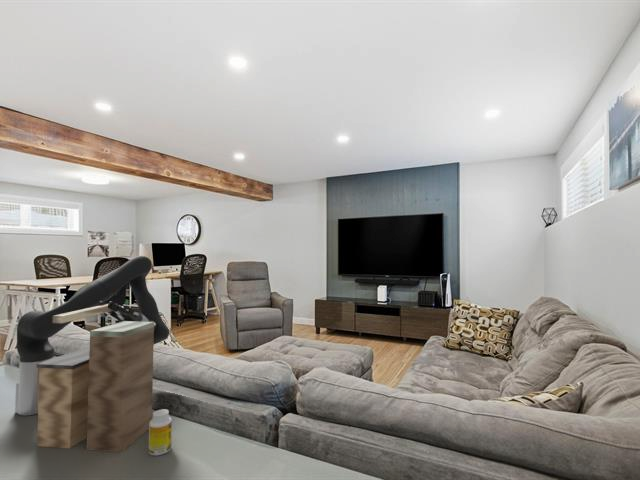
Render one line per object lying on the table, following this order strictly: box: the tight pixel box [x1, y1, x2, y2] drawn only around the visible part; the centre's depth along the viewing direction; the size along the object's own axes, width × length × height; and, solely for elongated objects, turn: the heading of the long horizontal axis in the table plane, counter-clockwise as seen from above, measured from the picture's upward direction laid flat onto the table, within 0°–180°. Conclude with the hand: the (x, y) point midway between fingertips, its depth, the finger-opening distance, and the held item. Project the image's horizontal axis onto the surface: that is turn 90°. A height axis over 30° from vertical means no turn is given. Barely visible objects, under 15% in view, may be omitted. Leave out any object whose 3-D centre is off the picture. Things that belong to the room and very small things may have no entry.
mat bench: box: [36, 347, 90, 449], centre depth 105 cm, size 11×17×22 cm, turn 173°
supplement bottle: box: [148, 408, 173, 456], centre depth 95 cm, size 6×6×10 cm
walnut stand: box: [86, 321, 155, 453], centre depth 102 cm, size 10×14×32 cm
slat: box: [53, 303, 112, 323], centre depth 109 cm, size 3×22×2 cm, turn 173°
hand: (104, 304), depth 116 cm, fingers closed on slat, 3 cm apart
